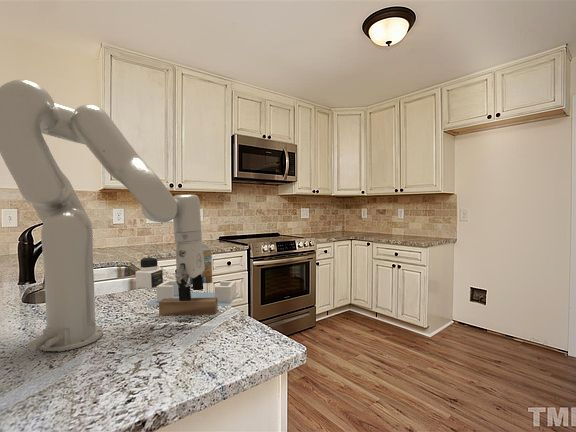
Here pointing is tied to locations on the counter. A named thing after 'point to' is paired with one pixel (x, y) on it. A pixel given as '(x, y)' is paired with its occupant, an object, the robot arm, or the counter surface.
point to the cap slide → (167, 290)
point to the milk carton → (206, 265)
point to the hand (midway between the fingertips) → (192, 294)
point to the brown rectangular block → (188, 306)
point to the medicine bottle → (149, 274)
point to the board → (196, 295)
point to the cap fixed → (225, 291)
